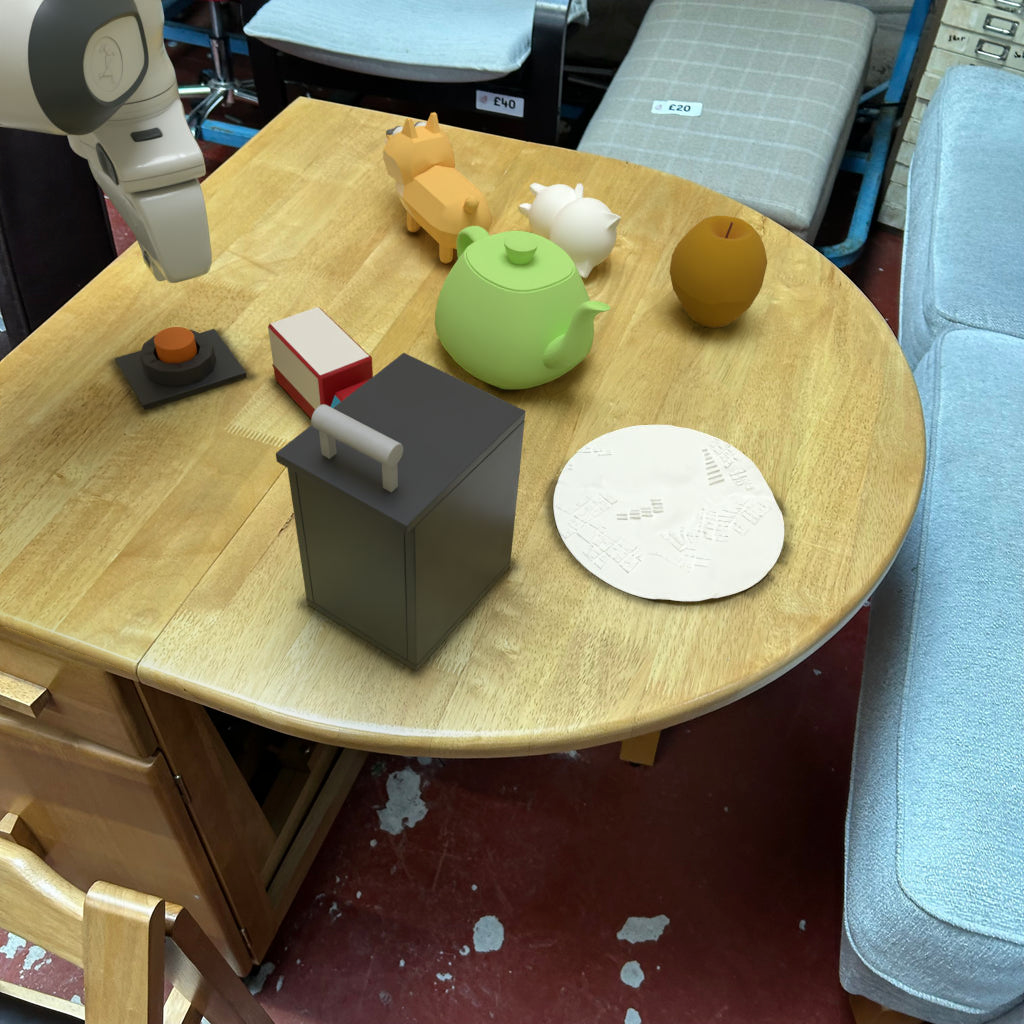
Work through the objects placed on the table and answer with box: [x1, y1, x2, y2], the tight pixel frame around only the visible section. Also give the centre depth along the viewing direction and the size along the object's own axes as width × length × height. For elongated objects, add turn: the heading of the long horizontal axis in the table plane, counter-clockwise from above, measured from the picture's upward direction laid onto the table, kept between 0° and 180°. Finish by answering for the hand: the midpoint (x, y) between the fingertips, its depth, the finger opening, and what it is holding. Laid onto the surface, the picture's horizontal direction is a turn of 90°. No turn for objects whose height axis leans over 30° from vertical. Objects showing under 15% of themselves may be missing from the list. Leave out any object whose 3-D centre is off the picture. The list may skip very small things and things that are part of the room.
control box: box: [114, 328, 248, 411], centre depth 91 cm, size 10×8×2 cm
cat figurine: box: [518, 182, 622, 279], centre depth 109 cm, size 9×11×12 cm
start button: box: [154, 326, 197, 363], centre depth 90 cm, size 4×4×2 cm
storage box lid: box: [275, 352, 526, 534], centre depth 62 cm, size 13×11×5 cm
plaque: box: [552, 424, 785, 602], centre depth 83 cm, size 20×20×2 cm
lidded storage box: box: [286, 419, 526, 672], centre depth 70 cm, size 13×11×16 cm
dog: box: [382, 111, 493, 265], centre depth 107 cm, size 8×20×13 cm, turn 33°
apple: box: [669, 215, 768, 328], centre depth 100 cm, size 10×10×12 cm
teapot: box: [434, 226, 612, 391], centre depth 92 cm, size 22×15×13 cm
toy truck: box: [267, 306, 374, 419], centre depth 87 cm, size 6×15×7 cm, turn 38°
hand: (161, 272), depth 84 cm, fingers closed
